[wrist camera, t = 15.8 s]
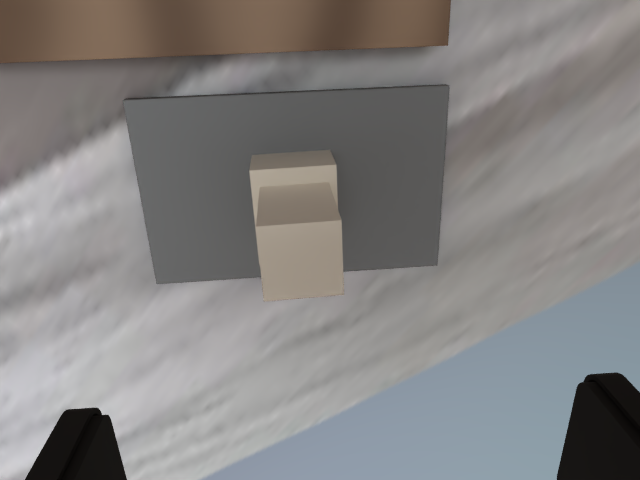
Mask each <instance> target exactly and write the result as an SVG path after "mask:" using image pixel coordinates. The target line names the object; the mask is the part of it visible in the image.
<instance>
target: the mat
mask: <svg viewBox="0 0 640 480" xmlns="http://www.w3.org/2000/svg"><path fill="white" fill-rule="evenodd" d="M448 101H449V85H423V86H401V87H378V88H355V89H333V90H310V91H288V92H265V93H242V94H220V95H197V96H174V97H152V98H129V99H124V100H123V104H124V110H125V115H126V121H127V126H128V132H129V137H130V142H131V148H132V153H133V159H134V164H135V169H136V175H137V180H138V186H139V191H140V197H141V202H142V207H143V213H144V218H145V224H146V229H147V235H148V240H149V245H150V251H151V256H152V262H153V267H154V273H155V278H156V283H157V284H167V283H182V282H197V281H211V280H226V279H241V278H256V277H261V270H260V265H259V257H258V248H257V239H256V229H255V220H254V211H253V201H252V192H251V182H250V173H249V169H250V163H251V158H252V155H259V154H274V153H289V152H304V151H319V150H330V151H331V153H332V156H333V158H334V160H335V163H336V167H337V195H338V211H339V214H340V217H341V220H342V249H343V272H345V271H360V270H375V269H390V268H405V267H420V266H434V265H437V264H438V250H439V235H440V220H441V205H442V190H443V175H444V160H445V146H446V131H447V116H448Z"/></svg>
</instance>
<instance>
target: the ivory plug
mask: <svg viewBox="0 0 640 480" xmlns="http://www.w3.org/2000/svg"><path fill="white" fill-rule="evenodd" d="M249 173H250V182H251V192H252V201H253V211H254V220H255V229H256V239H257V248H258V257H259V265H260V270H261V279H262V289H263V298H264V301H275V300H287V299H299V298H311V297H323V296H335V295H344V280H343V249H342V220H341V217H340V214H339V211H338V195H337V167H336V163H335V160H334V158H333V156H332V153H331V151H330V150H319V151H304V152H289V153H274V154H259V155H252V158H251V163H250V169H249Z"/></svg>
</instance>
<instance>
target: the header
mask: <svg viewBox="0 0 640 480" xmlns="http://www.w3.org/2000/svg"><path fill="white" fill-rule="evenodd" d="M450 4H451V0H0V63H14V62H40V61H65V60H91V59H116V58H142V57H167V56H193V55H218V54H243V53H269V52H294V51H320V50H345V49H371V48H396V47H422V46H447V45H448V36H449V20H450Z"/></svg>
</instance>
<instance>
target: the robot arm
mask: <svg viewBox="0 0 640 480" xmlns="http://www.w3.org/2000/svg"><path fill="white" fill-rule="evenodd" d="M25 480H127V479H126V475H125V471H124V467H123V463H122V460H121V456H120V452H119V448H118V445H117V441H116V437H115V433H114V429H113V426H112V422H111V419H110V417H109V415H102V413H101V411H100V410H99V409H98V408H84V409H69V410H66V411H64V412H63V414H62V415H61V417H60V418H59V420H58V422H57V424H56V426H55V427H54V429H53V431H52V433H51V434H50V436H49V438H48V440H47V441H46V443H45V445H44V447H43V449H42V450H41V452H40V454H39V456H38V457H37V459H36V461H35V463H34V464H33V466H32V468H31V470H30V472H29V473H28V475H27V477H26V479H25ZM557 480H640V392H639V391H638V390H637V389H636V388H635V387H634V386H633V385H632V384H631V383H630V382H629V381H628V380H627V379H626V378H625V377H624V376H623V375H622V374H619V373H603V374H590V375H587V376H586V378H585V380H584V382H582V383H580V384H578V386H577V389H576V394H575V398H574V403H573V407H572V412H571V417H570V421H569V425H568V430H567V434H566V438H565V443H564V447H563V452H562V456H561V461H560V465H559V470H558V474H557Z"/></svg>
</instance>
